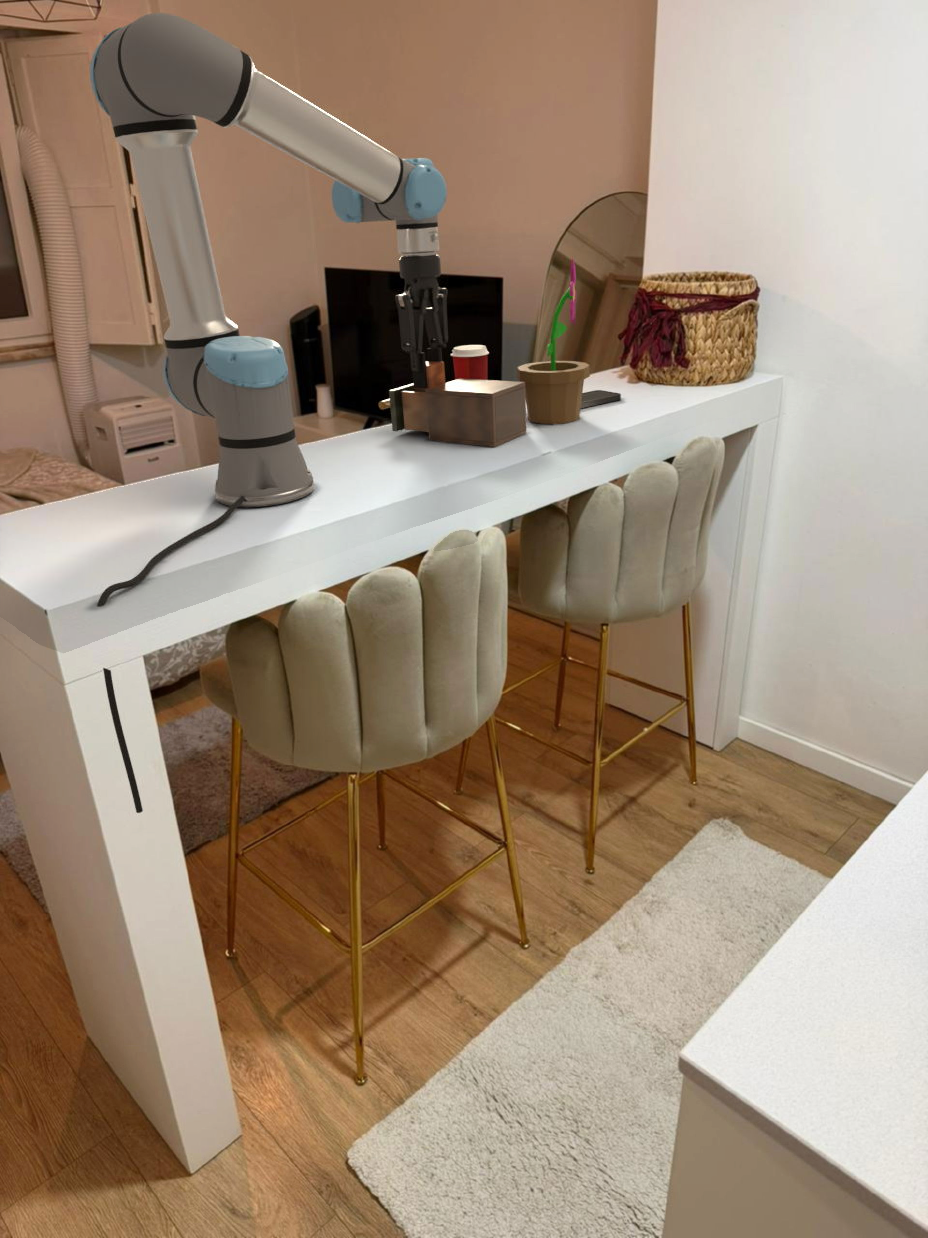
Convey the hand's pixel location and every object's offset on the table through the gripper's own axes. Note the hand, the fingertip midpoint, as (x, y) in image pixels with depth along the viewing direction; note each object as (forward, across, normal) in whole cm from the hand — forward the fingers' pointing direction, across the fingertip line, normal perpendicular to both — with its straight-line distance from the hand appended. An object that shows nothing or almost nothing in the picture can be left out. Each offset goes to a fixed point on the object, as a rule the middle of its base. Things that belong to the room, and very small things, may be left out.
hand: (428, 384), depth 170 cm
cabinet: (+9, 0, -11) cm, 14 cm away
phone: (+9, +35, -16) cm, 39 cm away
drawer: (+8, 0, +1) cm, 8 cm away
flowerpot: (+9, +19, -17) cm, 27 cm away
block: (0, 0, 0) cm, 0 cm away
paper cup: (+9, +15, 0) cm, 18 cm away
